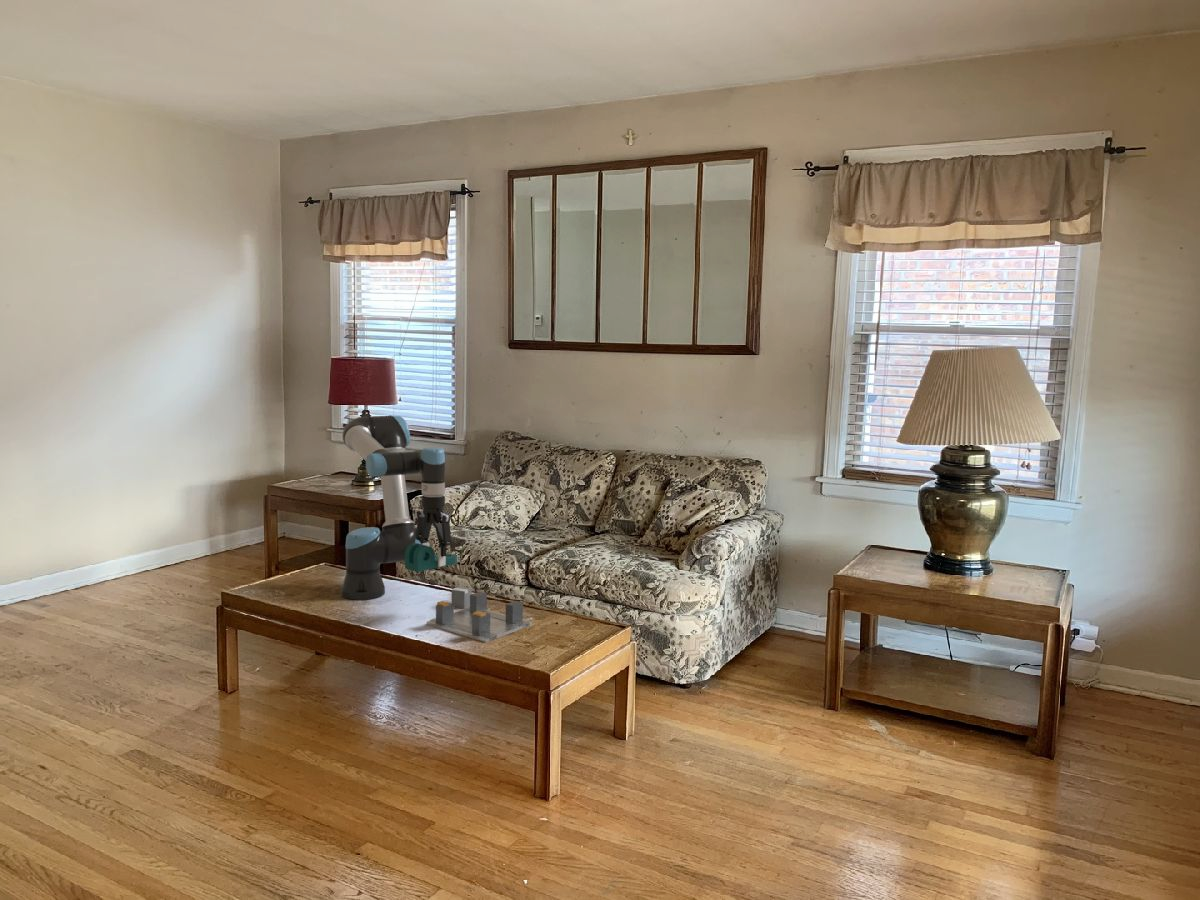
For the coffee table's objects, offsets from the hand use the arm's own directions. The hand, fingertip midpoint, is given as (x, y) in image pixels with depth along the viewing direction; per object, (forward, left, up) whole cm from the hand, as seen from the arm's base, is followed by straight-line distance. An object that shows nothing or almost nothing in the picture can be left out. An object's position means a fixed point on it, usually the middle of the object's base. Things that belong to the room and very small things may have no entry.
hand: (433, 563), depth 302 cm
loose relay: (-1, +15, -18) cm, 23 cm away
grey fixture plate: (+18, +3, -18) cm, 25 cm away
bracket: (0, 0, -1) cm, 1 cm away
